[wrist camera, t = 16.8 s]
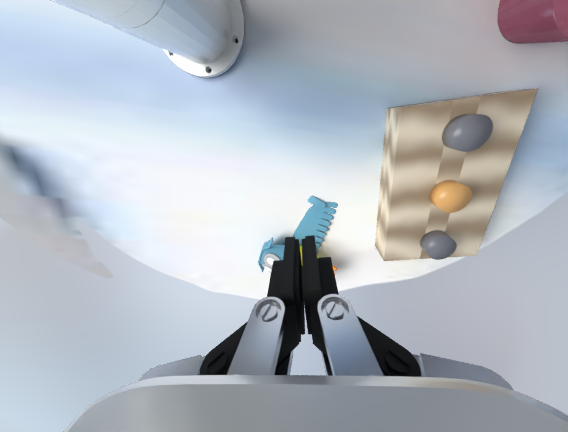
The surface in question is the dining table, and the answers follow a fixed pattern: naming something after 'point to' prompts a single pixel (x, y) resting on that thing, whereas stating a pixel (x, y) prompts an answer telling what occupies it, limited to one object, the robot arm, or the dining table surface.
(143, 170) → the dining table surface
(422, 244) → the knob
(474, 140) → the knob
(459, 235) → the console
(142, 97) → the dining table surface
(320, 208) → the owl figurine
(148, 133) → the dining table surface
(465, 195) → the knob mid
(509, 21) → the plant pot
